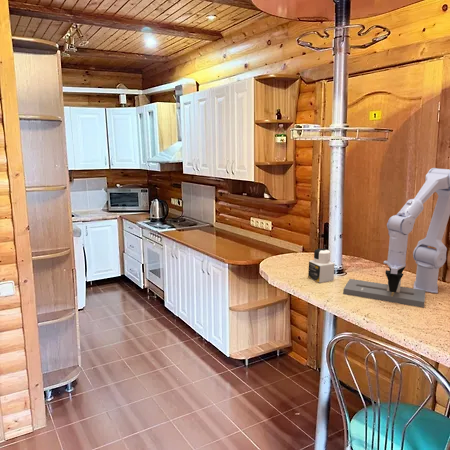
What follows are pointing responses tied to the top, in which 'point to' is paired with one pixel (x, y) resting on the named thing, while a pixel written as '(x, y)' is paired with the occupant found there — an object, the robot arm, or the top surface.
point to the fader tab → (397, 288)
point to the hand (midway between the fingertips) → (393, 287)
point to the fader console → (385, 293)
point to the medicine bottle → (321, 266)
